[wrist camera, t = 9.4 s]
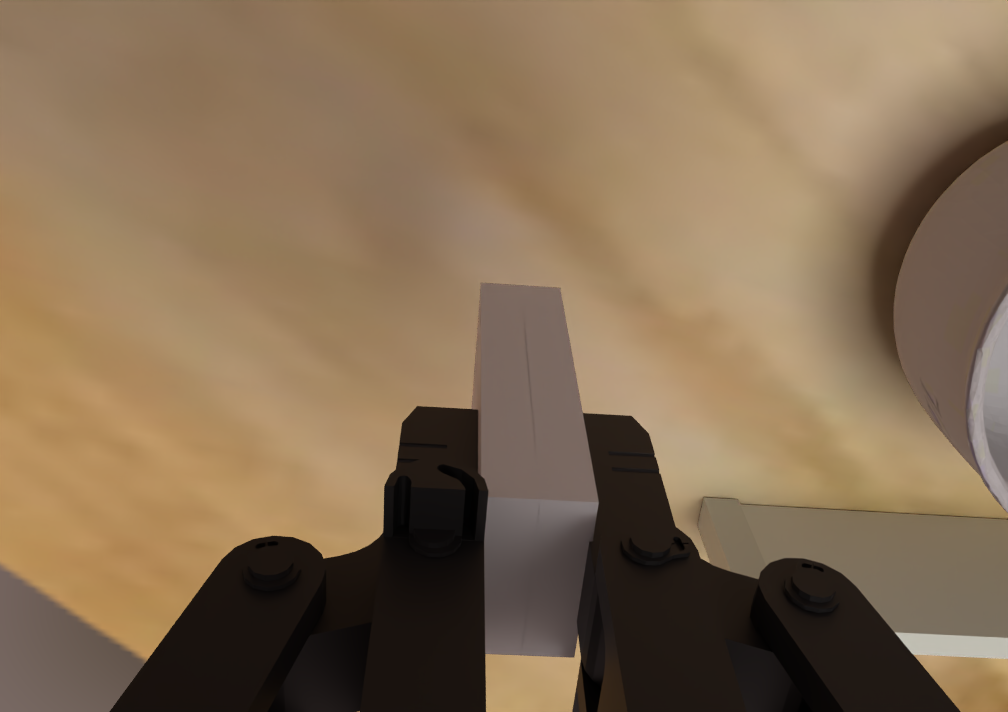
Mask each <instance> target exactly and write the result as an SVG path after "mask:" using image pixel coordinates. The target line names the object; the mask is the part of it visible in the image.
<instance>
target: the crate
mask: <svg viewBox="0 0 1008 712" xmlns="http://www.w3.org/2000/svg"><path fill="white" fill-rule="evenodd" d="M698 529H699V532H700V535H701V538H702V540H703V543H704V546H705V549H706V552H707V555H708V558H709V561H710V564H712V565H713V566H716V567H719V568H722V569H725V570H727V571H731V572H734V573H738V574H742V575H745V576H749V577H752V578H756V579H759V576H760V572H761V571H762V570H763V569H764V568H765V567H766V566H767V565H768V564H769V563H770V562H773V561H777V560H780V559H783V558H804V559H808V560H812V561H815V562H819V563H823V564H825V565H827V566H829V567H831V568H833V569H835V570H836V571H838V572H840V573H842V574H843V575H844V576H845V577H846V578H848V579H849V580H850V581H851V582H852V583H853V584H854V585H855V586H856V587H857V588H858V589H859V590H860V591H861V593H862V594H863V595H864V596H865V597H866V599H867V600H868V601H869V602H870V603H871V605H872V606H873V607H874V608H875V609H876V611H877V612H878V613H879V614H880V615H881V617H882V618H883V619H884V620H885V621H886V623H887V624H888V625H889V626H890V628H891V629H892V630H893V631H894V632H895V634H896V635H897V636H898V637H899V638H900V640H901V641H902V642H903V643H904V644H905V646H906V647H907V648H908V649H909V650H910V652H911V653H912V654H916V655H937V656H958V657H979V658H1001V659H1008V520H1007V519H990V518H972V517H955V516H937V515H919V514H902V513H884V512H866V511H849V510H831V509H814V508H796V507H778V506H761V505H743V504H740V503H739V500H738V499H723V498H705V497H704V498H703V503H702V507H701V512H700V516H699V521H698Z"/></svg>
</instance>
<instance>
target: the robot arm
mask: <svg viewBox="0 0 1008 712" xmlns="http://www.w3.org/2000/svg"><path fill="white" fill-rule="evenodd" d="M654 455H655V453H654V450H653V446H652V443H651V439H650V436H649V434H648V432H647V431H646V430H645V429H644V428H643V427H642V426H641V425H640V424H639V423H638V422H637V421H636V420H635V419H634V418H633V417H632V416H623V415H605V414H587V413H583V412H582V406H581V401H580V395H579V390H578V384H577V378H576V373H575V367H574V362H573V356H572V351H571V345H570V340H569V334H568V328H567V323H566V317H565V312H564V306H563V301H562V295H561V290H560V288H556V287H540V286H524V285H509V284H493V283H481V288H480V301H479V315H478V328H477V342H476V355H475V369H474V382H473V396H472V409H458V408H440V407H422V406H417V407H416V408H415V409H414V410H413V412H412V413H411V414H410V415H409V416H408V417H407V418H406V419H405V420H404V421H403V423H402V428H401V436H400V445H399V451H398V459H397V466H396V470H395V471H394V472H392V473H391V474H390V475H389V478H388V480H387V482H386V484H385V486H384V530H383V533H382V535H381V536H380V537H379V538H378V539H377V540H375V541H374V542H373V543H372V544H370V545H369V546H367V547H365V548H362V549H360V550H358V551H356V552H352V553H349V554H345V555H341V556H336V557H331V558H325V559H323V557H322V554H321V553H320V552H319V551H318V550H317V549H316V548H314V547H313V546H312V545H311V544H310V543H307V542H304V541H302V540H299V539H296V538H294V537H282V536H269V537H264V538H258V539H253V540H251V541H248V542H246V543H244V544H242V545H240V546H237V547H235V548H234V549H233V550H232V551H231V552H230V553H228V554H227V555H226V556H225V557H224V558H223V559H222V560H221V561H220V563H219V564H218V565H217V567H216V568H215V569H214V571H213V572H212V574H211V575H210V576H209V578H208V579H207V580H206V582H205V583H204V584H203V586H202V587H201V588H200V590H199V591H198V593H197V594H196V595H195V597H194V598H193V599H192V601H191V602H190V603H189V605H188V606H187V607H186V609H185V610H184V611H183V613H182V614H181V616H180V617H179V618H178V620H177V621H176V622H175V624H174V625H173V626H172V628H171V629H170V630H169V632H168V633H167V635H166V636H165V637H164V639H163V640H162V641H161V643H160V644H159V645H158V647H157V648H156V649H155V651H154V652H153V654H152V655H151V656H150V658H149V659H148V660H147V662H146V663H145V664H144V666H143V667H142V668H141V670H140V671H139V672H138V674H137V675H136V677H135V678H134V679H133V681H132V682H131V683H130V685H129V686H128V687H127V689H126V690H125V692H124V693H123V694H122V696H121V697H120V698H119V700H118V701H117V702H116V704H115V705H114V706H113V708H112V709H111V711H110V712H357V711H360V712H486V677H485V654H502V655H527V656H551V657H574V655H575V649H576V643H577V637H578V636H579V644H580V652H581V663H580V669H579V675H578V681H577V687H576V693H575V699H574V705H573V712H960V710H959V709H958V708H957V707H956V706H955V704H954V703H953V702H952V701H951V700H950V698H949V697H948V696H947V695H946V694H945V692H944V691H943V690H942V689H941V688H940V686H939V685H938V684H937V683H936V682H935V680H934V679H933V678H932V677H931V676H930V674H929V673H928V672H927V671H926V670H925V668H924V667H923V666H922V665H921V664H920V662H919V661H918V660H917V659H916V658H915V656H914V655H913V654H912V653H911V652H910V650H909V649H908V648H907V647H906V646H905V644H904V643H903V642H902V641H901V640H900V638H899V637H898V636H897V635H896V634H895V632H894V631H893V630H892V629H891V628H890V626H889V625H888V624H887V623H886V621H885V620H884V619H883V618H882V617H881V615H880V614H879V613H878V612H877V611H876V609H875V608H874V607H873V606H872V605H871V603H870V602H869V601H868V600H867V599H866V597H865V596H864V595H863V594H862V593H861V591H860V590H859V589H858V588H857V587H856V586H855V585H854V584H853V583H852V582H851V581H850V580H849V579H848V578H846V577H845V576H844V575H843V574H842V573H840V572H838V571H836V570H835V569H833V568H831V567H829V566H827V565H825V564H823V563H819V562H815V561H812V560H808V559H804V558H783V559H780V560H777V561H773V562H770V563H769V564H768V565H767V566H766V567H765V568H764V569H763V570H762V571H761V572H760V576H759V579H756V578H752V577H749V576H745V575H742V574H738V573H734V572H731V571H727V570H725V569H722V568H719V567H716V566H713V565H712V564H710V563H708V562H706V561H704V560H702V559H700V556H699V552H698V550H697V548H696V547H695V545H694V543H693V542H692V540H691V539H690V538H689V537H688V536H687V535H685V534H684V533H683V532H682V531H680V530H679V529H678V528H676V527H675V523H674V520H673V516H672V513H671V509H670V506H669V502H668V499H667V495H666V492H665V488H664V485H663V481H662V478H661V474H659V467H658V464H657V460H656V458H655V457H654Z"/></svg>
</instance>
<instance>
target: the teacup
mask: <svg viewBox="0 0 1008 712" xmlns="http://www.w3.org/2000/svg"><path fill="white" fill-rule="evenodd" d="M894 334H895V340H896V346H897V351H898V355H899V359H900V362H901V365H902V368H903V371H904V373H905V376H906V378H907V380H908V382H909V384H910V386H911V388H912V390H913V392H914V394H915V396H916V397H917V399H918V400H919V402H920V404H921V405H922V407H923V408H924V409H925V411H926V412H927V414H928V415H929V416H930V418H931V419H932V420H933V422H934V423H935V425H936V426H937V427H938V428H939V429H940V431H941V432H942V433H943V434H944V435H945V437H946V438H947V439H948V440H949V441H950V443H951V444H952V445H953V446H954V447H955V448H956V450H957V451H958V452H959V453H960V454H961V455H962V456H963V458H964V459H965V460H966V461H967V462H968V463H969V464H970V466H971V467H972V468H973V469H974V470H975V471H976V472H977V473H978V474H979V475H980V476H981V478H982V480H983V482H984V484H985V485H986V487H987V488H988V490H989V491H990V492H991V494H992V495H993V497H994V498H995V499H996V501H997V502H998V503H999V504H1000V505H1001V506H1002V507H1003V508H1004V510H1005V511H1007V512H1008V141H1006V142H1005V143H1003V144H1001V145H1000V146H998V147H996V148H995V149H993V150H992V151H990V152H989V153H987V154H986V155H984V156H983V157H981V158H980V159H978V160H977V161H976V162H975V163H974V164H973V165H971V166H970V167H969V168H968V169H967V170H966V171H965V172H963V173H962V174H961V175H960V176H959V177H958V178H957V179H956V180H955V181H954V182H953V183H952V184H951V185H950V186H949V187H948V188H947V189H946V190H945V191H944V193H943V194H942V195H941V196H940V197H939V198H938V200H937V201H936V202H935V203H934V205H933V206H932V207H931V209H930V210H929V212H928V213H927V214H926V216H925V217H924V219H923V220H922V222H921V224H920V226H919V227H918V229H917V231H916V233H915V235H914V236H913V238H912V240H911V242H910V245H909V247H908V249H907V252H906V254H905V257H904V260H903V263H902V266H901V269H900V272H899V276H898V280H897V284H896V290H895V299H894Z"/></svg>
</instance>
